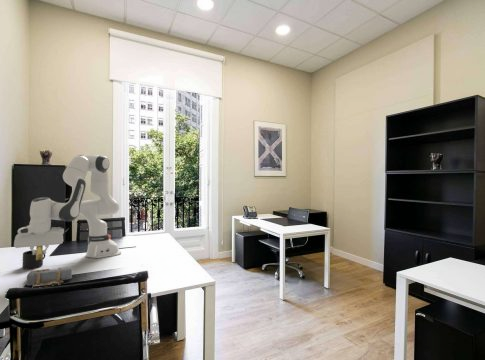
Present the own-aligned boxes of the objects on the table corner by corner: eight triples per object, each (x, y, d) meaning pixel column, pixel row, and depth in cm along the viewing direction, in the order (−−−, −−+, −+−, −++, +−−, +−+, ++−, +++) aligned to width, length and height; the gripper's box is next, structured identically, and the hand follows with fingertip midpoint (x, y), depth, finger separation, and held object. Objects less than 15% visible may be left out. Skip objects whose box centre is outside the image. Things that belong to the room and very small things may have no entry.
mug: (50, 263, 156) (51, 249, 156) (30, 270, 144) (30, 254, 144) (39, 262, 158) (39, 248, 158) (18, 268, 147) (18, 253, 147)
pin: (42, 258, 134) (43, 243, 134) (41, 259, 132) (42, 244, 132) (36, 259, 132) (37, 244, 133) (35, 260, 130) (36, 245, 130)
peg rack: (64, 278, 134) (64, 267, 134) (62, 283, 128) (63, 271, 128) (35, 282, 128) (36, 270, 128) (32, 288, 121) (32, 275, 121)
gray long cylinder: (71, 276, 135) (72, 267, 135) (71, 279, 131) (71, 269, 131) (28, 282, 125) (29, 272, 125) (26, 285, 121) (26, 275, 121)
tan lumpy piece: (49, 275, 137) (49, 268, 137) (47, 280, 131) (47, 272, 131) (30, 278, 133) (30, 270, 133) (27, 283, 127) (27, 275, 127)
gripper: (64, 225, 140) (63, 250, 140) (16, 228, 130) (15, 254, 130) (63, 227, 135) (62, 253, 135) (13, 230, 124) (12, 258, 124)
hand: (39, 254), depth 132 cm, fingers closed on pin, 3 cm apart
